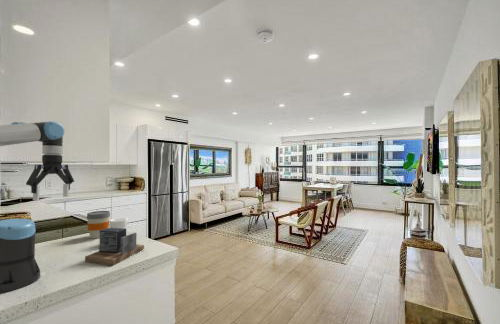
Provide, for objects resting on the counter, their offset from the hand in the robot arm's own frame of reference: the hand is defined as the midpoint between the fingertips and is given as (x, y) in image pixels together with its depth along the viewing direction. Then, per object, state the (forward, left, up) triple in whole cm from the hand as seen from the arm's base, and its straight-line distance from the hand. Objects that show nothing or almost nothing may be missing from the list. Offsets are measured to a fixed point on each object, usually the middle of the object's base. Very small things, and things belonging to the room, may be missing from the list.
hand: (51, 198), depth 113 cm
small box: (+10, -27, -26) cm, 39 cm away
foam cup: (+28, -13, -29) cm, 42 cm away
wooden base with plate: (+10, -28, -29) cm, 42 cm away
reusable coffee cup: (+34, +8, -29) cm, 45 cm away
